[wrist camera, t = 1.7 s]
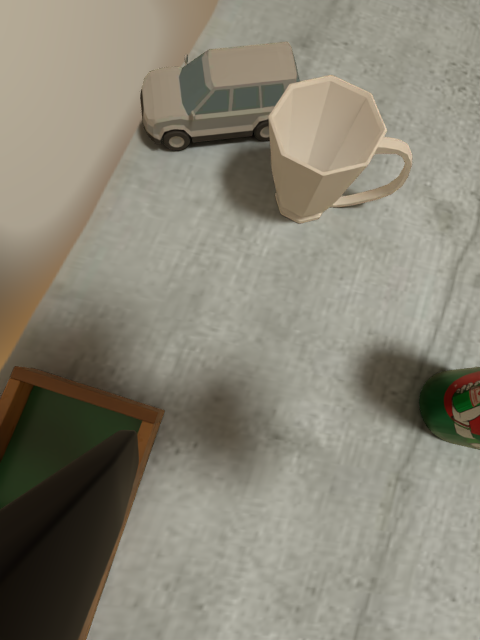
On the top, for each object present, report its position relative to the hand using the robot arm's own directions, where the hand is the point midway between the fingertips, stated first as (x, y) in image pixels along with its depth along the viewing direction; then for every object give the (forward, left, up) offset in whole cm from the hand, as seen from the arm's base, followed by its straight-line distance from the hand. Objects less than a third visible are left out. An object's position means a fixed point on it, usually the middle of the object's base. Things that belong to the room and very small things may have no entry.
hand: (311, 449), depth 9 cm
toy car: (+22, +10, -16) cm, 29 cm away
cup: (+17, 0, -16) cm, 24 cm away
